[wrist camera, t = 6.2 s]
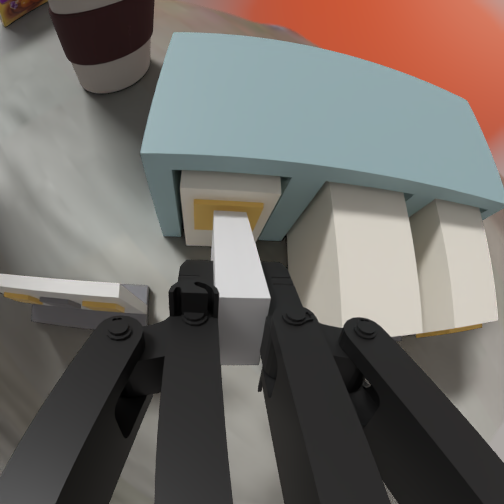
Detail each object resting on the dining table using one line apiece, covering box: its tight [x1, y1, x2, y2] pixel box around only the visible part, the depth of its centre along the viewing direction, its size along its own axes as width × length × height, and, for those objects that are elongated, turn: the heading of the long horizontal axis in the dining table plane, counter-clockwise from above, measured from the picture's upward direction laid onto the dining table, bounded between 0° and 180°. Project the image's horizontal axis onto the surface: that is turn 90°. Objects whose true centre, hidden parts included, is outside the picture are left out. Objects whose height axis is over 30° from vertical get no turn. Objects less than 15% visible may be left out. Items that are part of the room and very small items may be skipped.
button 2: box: [403, 199, 498, 338], centre depth 18 cm, size 4×10×8 cm, turn 1°
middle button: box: [287, 181, 423, 341], centre depth 17 cm, size 4×10×8 cm, turn 0°
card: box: [0, 274, 149, 330], centre depth 15 cm, size 8×3×7 cm, turn 90°
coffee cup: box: [48, 0, 154, 93], centre depth 17 cm, size 10×10×15 cm
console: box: [140, 32, 504, 241], centre depth 19 cm, size 21×9×10 cm, turn 91°
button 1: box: [180, 170, 281, 246], centre depth 18 cm, size 4×10×8 cm, turn 1°
